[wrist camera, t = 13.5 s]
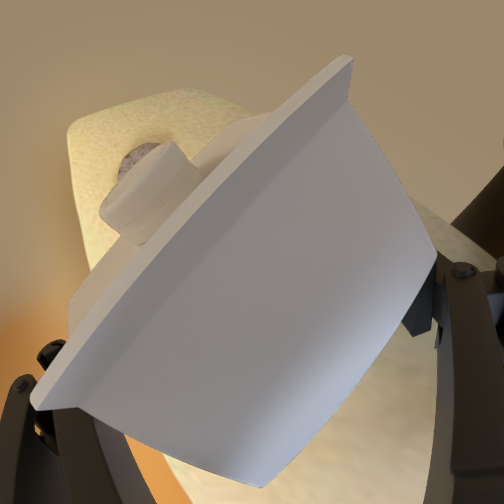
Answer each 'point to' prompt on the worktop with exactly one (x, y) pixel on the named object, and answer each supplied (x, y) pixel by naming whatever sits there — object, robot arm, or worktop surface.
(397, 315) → the milk carton
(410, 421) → the worktop surface
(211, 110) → the worktop surface
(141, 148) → the flatbread
